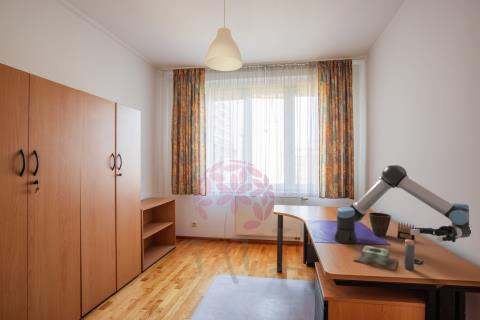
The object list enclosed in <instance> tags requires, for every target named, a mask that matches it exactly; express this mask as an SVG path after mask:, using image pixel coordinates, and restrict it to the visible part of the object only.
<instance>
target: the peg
mask: <svg viewBox="0 0 480 320" xmlns="http://www.w3.org/2000/svg"><path fill="white" fill-rule="evenodd" d="M404 250H405V251H404V269H405V270H408V271H412V272H413V271H415V264H414V260H415V241H413V240H409V239H406V240H405V239H404Z"/></svg>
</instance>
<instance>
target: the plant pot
mask: <svg viewBox="0 0 480 320" xmlns="http://www.w3.org/2000/svg"><path fill="white" fill-rule="evenodd" d="M368 216H369V221H370V226H371V229H372V232H373V234H374V235H375V236H377V237H385V236H386V235H387V233H388V230H389V227H390V223H391V218H392V215H391V214H388V213H384V212H383V213H382V212H369V213H368Z"/></svg>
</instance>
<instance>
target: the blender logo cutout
mask: <svg viewBox="0 0 480 320" xmlns="http://www.w3.org/2000/svg"><path fill="white" fill-rule="evenodd" d="M423 264H424V261H423V260H422V261H420V260H419V259H417V258H414V265H423Z"/></svg>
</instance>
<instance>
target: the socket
mask: <svg viewBox="0 0 480 320" xmlns="http://www.w3.org/2000/svg"><path fill="white" fill-rule="evenodd" d="M389 250H390V249H386V248H383V247H382V248H381V247H377V246H376V247H375V246H369V245H364V247H363V248H362V250H361V251H360V250H358V252H357V253H356V255H355V256H354V258H353V260H352V261H353V262H356V263H360V264H365V265H369V266H374V267H378V268H382V269H386V270H391V271H396V268H397V262H398V259H397V258H394V257H390V256H389V254H390V253H389V252H390V251H389Z"/></svg>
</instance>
